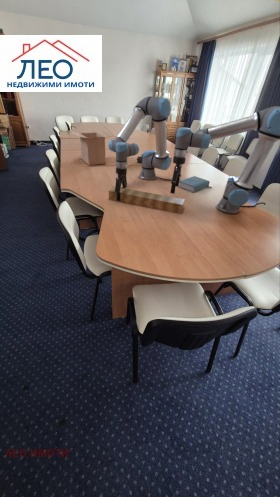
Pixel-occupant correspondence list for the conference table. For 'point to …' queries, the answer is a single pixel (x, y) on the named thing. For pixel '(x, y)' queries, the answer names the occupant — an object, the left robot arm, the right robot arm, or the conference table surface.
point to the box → (92, 146)
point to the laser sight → (140, 159)
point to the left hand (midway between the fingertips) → (121, 198)
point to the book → (193, 183)
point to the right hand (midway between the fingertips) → (174, 189)
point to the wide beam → (148, 200)
